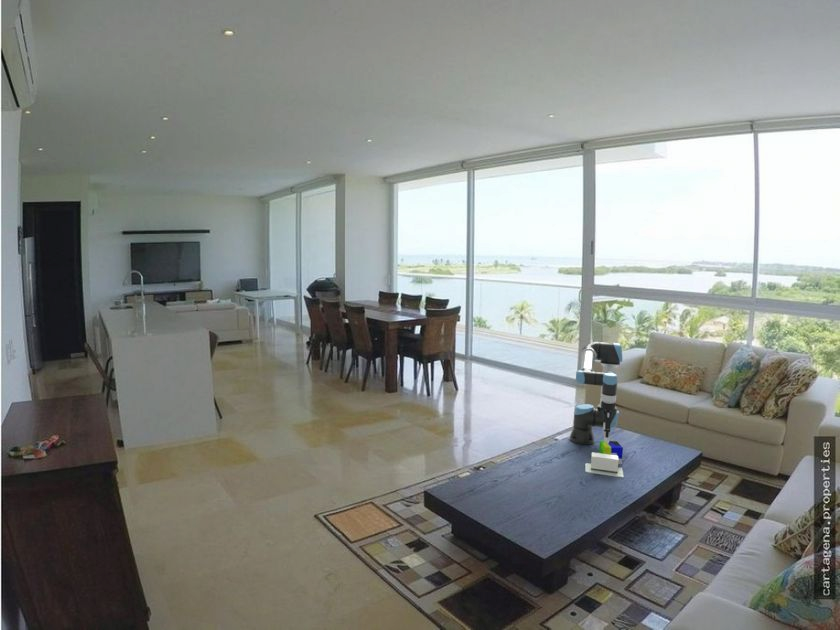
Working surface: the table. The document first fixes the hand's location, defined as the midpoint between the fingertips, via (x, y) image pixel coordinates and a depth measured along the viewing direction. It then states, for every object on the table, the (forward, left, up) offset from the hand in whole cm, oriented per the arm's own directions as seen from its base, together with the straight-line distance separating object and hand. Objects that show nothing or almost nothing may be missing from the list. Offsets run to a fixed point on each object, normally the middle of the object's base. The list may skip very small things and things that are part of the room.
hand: (605, 438), depth 292 cm
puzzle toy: (-15, +4, -19) cm, 25 cm away
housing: (+1, 0, -17) cm, 17 cm away
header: (+1, 0, -19) cm, 19 cm away
